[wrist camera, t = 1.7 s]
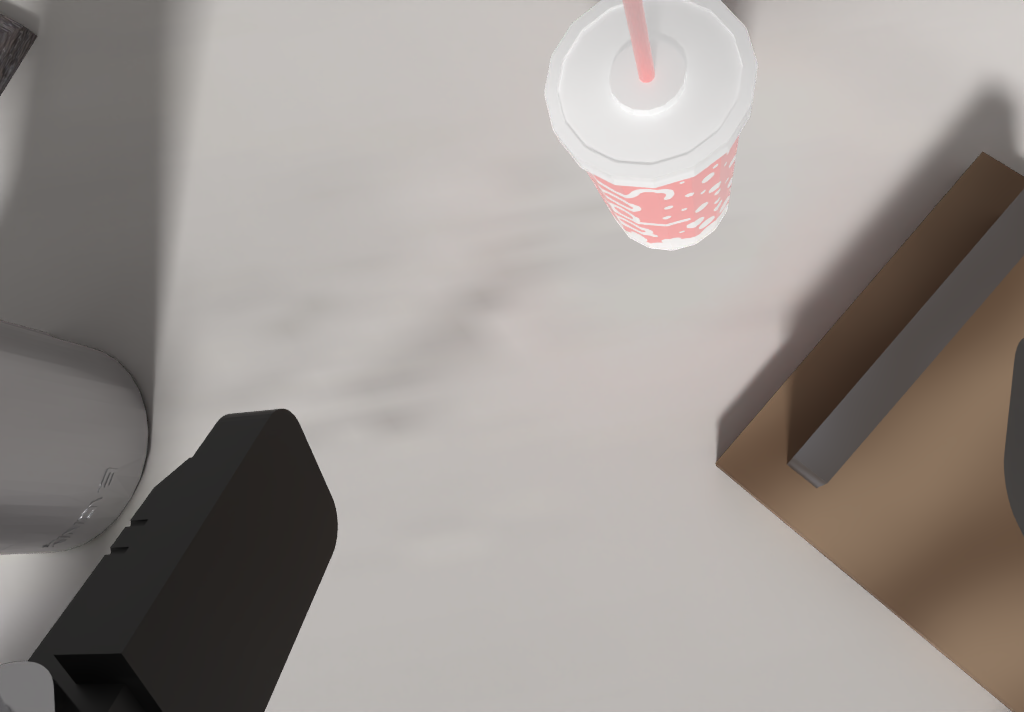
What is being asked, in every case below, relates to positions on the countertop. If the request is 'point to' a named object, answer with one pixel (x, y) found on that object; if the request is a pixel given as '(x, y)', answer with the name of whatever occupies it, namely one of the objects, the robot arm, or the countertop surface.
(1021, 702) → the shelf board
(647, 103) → the beverage cup
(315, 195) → the countertop surface
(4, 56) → the picture frame
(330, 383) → the countertop surface
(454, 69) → the countertop surface
